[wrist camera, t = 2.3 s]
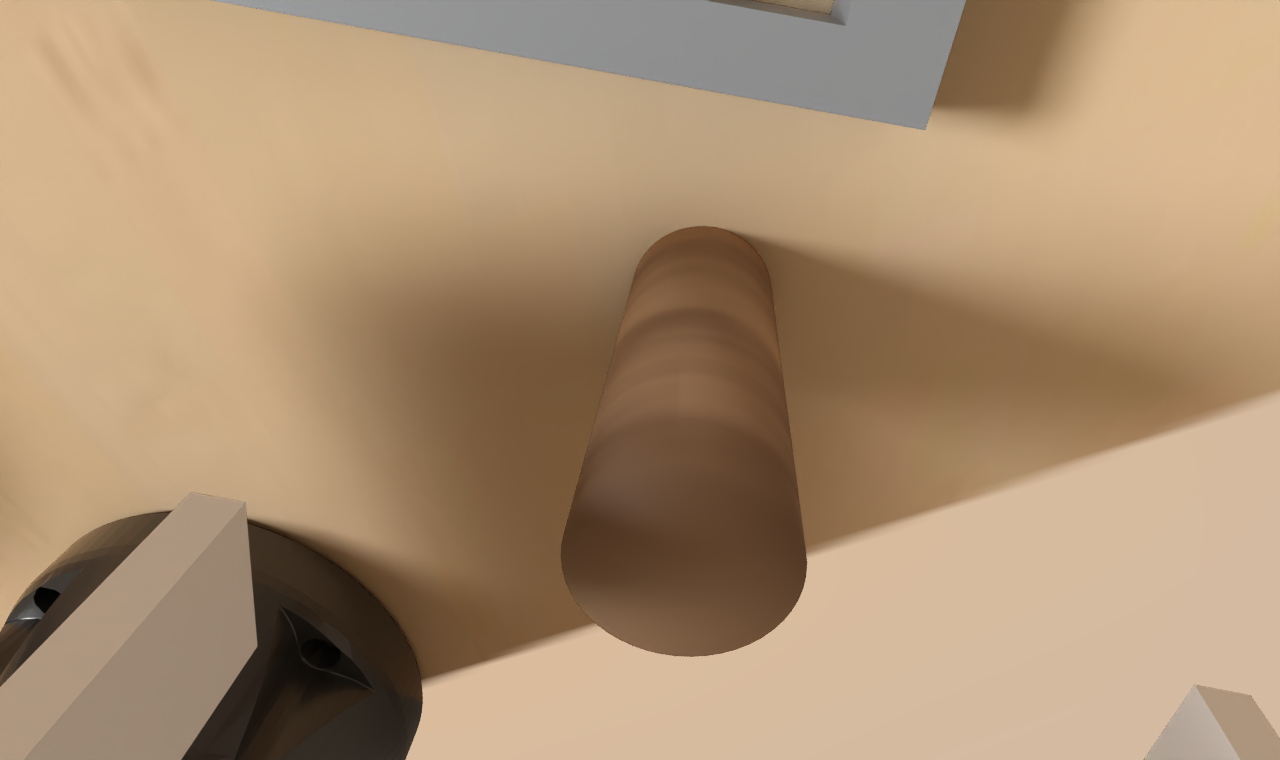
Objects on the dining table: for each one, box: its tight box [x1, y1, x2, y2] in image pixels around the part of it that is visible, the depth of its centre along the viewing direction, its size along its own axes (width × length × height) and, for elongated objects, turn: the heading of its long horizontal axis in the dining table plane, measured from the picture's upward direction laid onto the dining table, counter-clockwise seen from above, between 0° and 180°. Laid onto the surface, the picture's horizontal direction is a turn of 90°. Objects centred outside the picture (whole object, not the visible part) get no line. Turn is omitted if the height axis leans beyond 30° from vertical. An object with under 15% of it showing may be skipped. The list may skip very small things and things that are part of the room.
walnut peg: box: [561, 226, 807, 657], centre depth 19 cm, size 4×4×12 cm
